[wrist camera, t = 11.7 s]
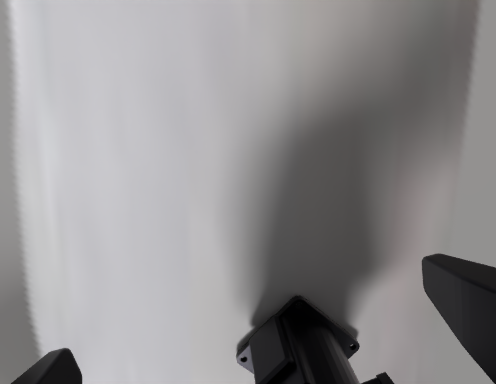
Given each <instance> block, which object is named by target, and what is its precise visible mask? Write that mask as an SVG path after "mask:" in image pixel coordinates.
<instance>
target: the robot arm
mask: <svg viewBox="0 0 496 384" xmlns="http://www.w3.org/2000/svg"><path fill="white" fill-rule="evenodd" d="M422 274H423V286H424V290H425V292H426V294H427V296H428V297H429V299H430V300H431V301H432V303H433V304H434V306H435V307H436V309H437V310H438V311H439V313H440V314H441V316H442V317H443V319H444V320H445V322H446V323H447V324H448V326H449V327H450V329H451V330H452V332H453V333H454V334H455V336H456V337H457V339H458V340H459V341H460V343H461V344H462V346H463V347H464V348H465V349H466V350H467V352H468V353H469V354H470V355H471V357H472V358H473V359H474V360H475V361H476V362H477V364H478V365H479V366H480V367H481V368H482V369H483V370H484V372H485V373H486V374H487V375H488V376H489V378H490V379H491V380H492V381H493V382H494V383H495V384H496V268H495V267H491V266H487V265H484V264H480V263H475V262H472V261H468V260H463V259H460V258H456V257H452V256H448V255H444V254H434V255H430V256H426V257H424V258H423V259H422ZM299 302H301V304H300V305H296V304H297V303H299ZM352 344H353V345H352ZM350 345H352V346H350ZM359 347H360V346H359V343H358V341H357V340H356V339H355V338H354V337H353V336H352V335H350V334H349V333H348V332H346V331H345V330H344V329H343V328H341V327H340V326H339V325H338V324H336V323H335V322H334V321H333V320H331V319H330V318H329V317H327V316H326V315H325V314H324V313H322V312H321V311H320V310H319V309H317V308H316V307H315V306H313V305H312V304H311V303H310V302H308V301H307V300H306V299H305V298H303V297H302V296H295V297H294V298H292V299H291V300H290V301H289V302H288V303H287V304H286V305H285V306H284V307H283V308H282V309H281V310H280V311H279V312H278V313H277V314H276V315H274V316H272V317H271V318H270V319H269V320H268V321H267V322H266V323H265V324H264V325H263V326H262V327H261V328H260V329H259V330H258V331H257V332H256V333H255V334H254V335H253V336H252V337H251V338H250V339H249V341H248V342H247V343H246V344H245V345H244V346H243V347H242V348H241V349H240V350H239V351H238V352H237V355H236V358H237V363H238V364H240V365H241V366H243V367H244V368H246V369H247V370H249V371H250V372H252V373H253V374H254V378H255V384H360V383H359V381H358V379H357V377H356V375H355V373H354V371H353V369H352V367H351V365H350V363H349V361H348V359H349V358H350V357H351V356H352V355H353V354H354V353H356V352H357V351H358V349H359ZM243 356H245V358H241V357H243ZM11 384H82V374H81V371H80V369H79V367H78V365H77V363H76V360H75V358H74V356H73V354H72V352H71V350H69V349H68V348H62V349H59V350H55V351H51V352H49V353H48V354H46V355H45V356H44V357H43V358H41V359H40V360H39V361H38V362H37V363H36V364H34V365H33V366H32V367H31V368H29V369H28V370H27V371H26V372H24V373H23V374H22V375H21V376H20V377H18V378H17V379H16V380H15V381H14V382H12V383H11ZM361 384H394V383H393V381H392V380H391V379H390V377H389V376H388V375H387V373H386V372H384V373H381V374H379V375H376V378H374V379H371V380H369V381H366V382H363V383H361Z"/></svg>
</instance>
